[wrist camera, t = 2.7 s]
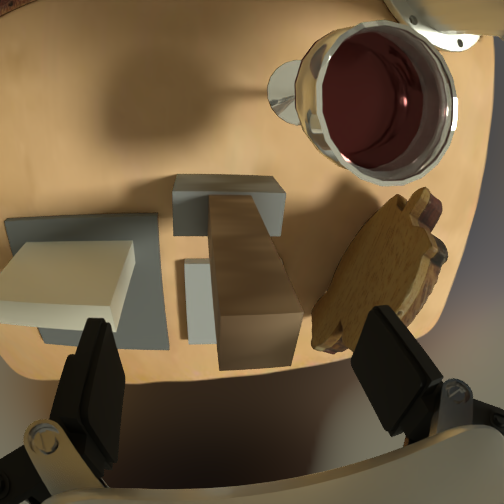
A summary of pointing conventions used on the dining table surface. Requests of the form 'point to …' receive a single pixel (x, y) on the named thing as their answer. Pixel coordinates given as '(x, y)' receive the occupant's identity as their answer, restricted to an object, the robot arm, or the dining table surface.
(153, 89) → the dining table surface
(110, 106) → the dining table surface
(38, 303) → the tile
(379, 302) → the wooden carving
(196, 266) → the pad
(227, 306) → the brown grey t-shaped piece
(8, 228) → the rubber mat
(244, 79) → the dining table surface
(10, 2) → the wooden tablet
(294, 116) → the wineglass
